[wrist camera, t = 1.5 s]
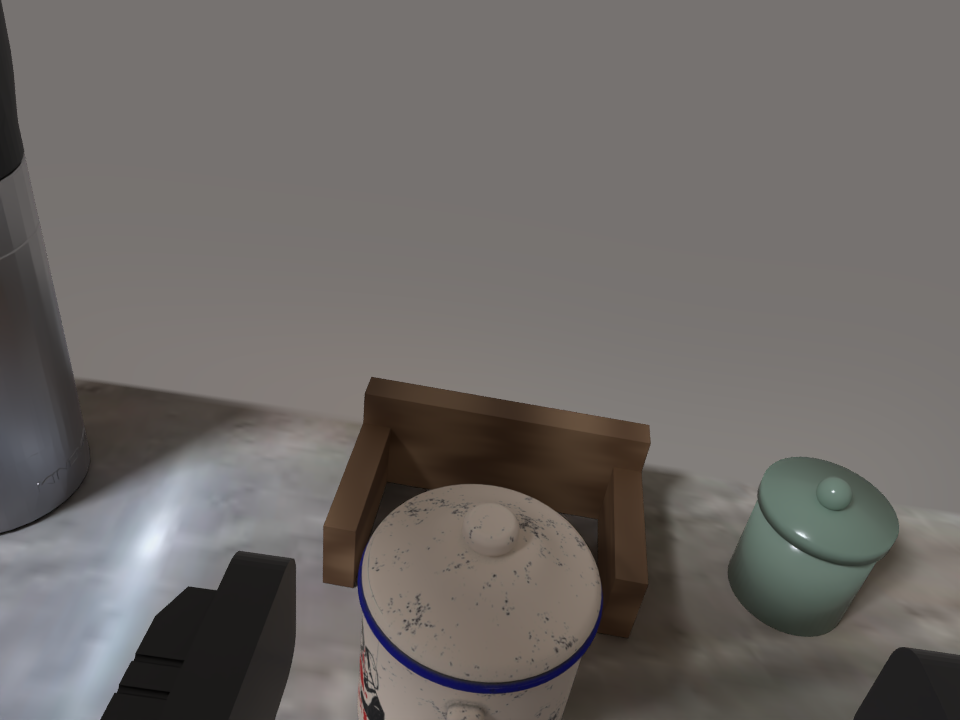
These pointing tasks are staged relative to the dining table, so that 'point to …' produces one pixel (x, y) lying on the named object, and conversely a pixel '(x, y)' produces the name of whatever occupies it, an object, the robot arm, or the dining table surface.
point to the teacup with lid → (474, 608)
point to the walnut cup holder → (499, 475)
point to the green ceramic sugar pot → (809, 545)
